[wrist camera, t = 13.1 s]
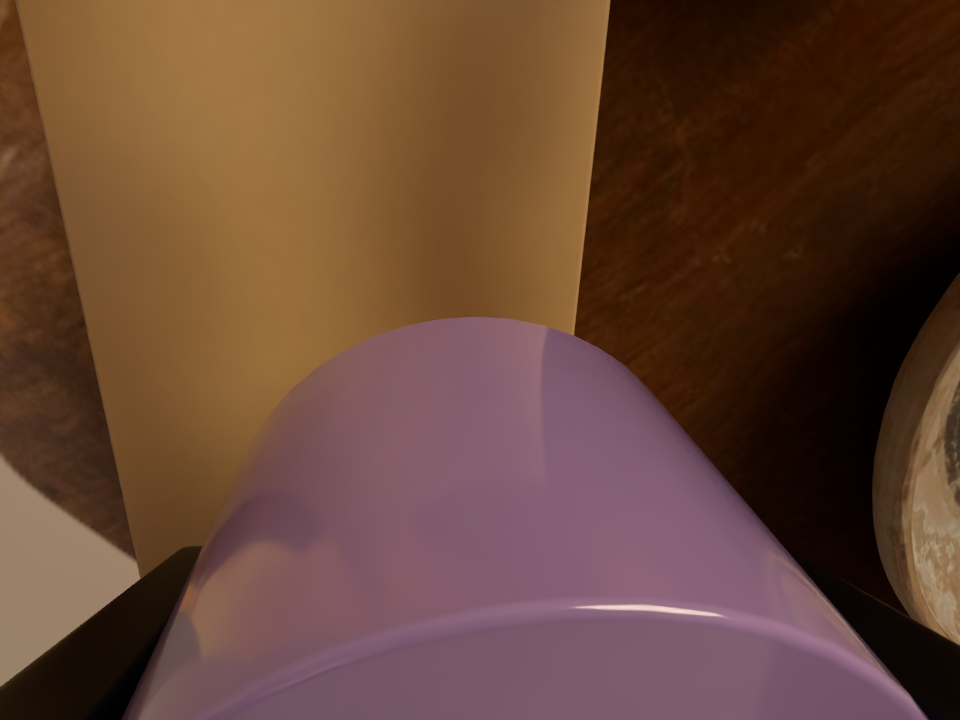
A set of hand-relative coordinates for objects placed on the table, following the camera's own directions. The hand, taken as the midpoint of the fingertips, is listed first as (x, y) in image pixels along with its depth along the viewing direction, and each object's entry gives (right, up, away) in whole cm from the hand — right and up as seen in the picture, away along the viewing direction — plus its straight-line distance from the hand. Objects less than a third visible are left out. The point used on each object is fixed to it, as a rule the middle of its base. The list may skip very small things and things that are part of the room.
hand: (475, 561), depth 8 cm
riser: (-3, +4, +12) cm, 13 cm away
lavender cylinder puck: (0, 0, +1) cm, 1 cm away
